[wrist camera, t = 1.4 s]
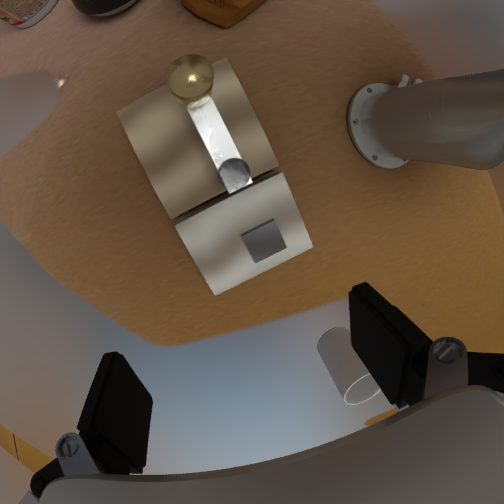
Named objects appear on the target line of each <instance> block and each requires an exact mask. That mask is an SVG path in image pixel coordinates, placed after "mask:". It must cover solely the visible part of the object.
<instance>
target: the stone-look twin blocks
mask: <svg viewBox="0 0 504 504" xmlns="http://www.w3.org/2000/svg"><path fill="white" fill-rule="evenodd" d="M211 64H212V66H213V69H214V80H213V90H212V95H211V98H212V100H213V102H214V104H215V106H216V108H217V110H218V112H219V114H220V116H221V118H222V120H223V122H224V124H225V126H226V128H227V130H228V132H229V134H230V136H231V138H232V140H233V142H234V144H235V146H236V148H237V151H238V153H239V155H240V157H241V159H242V160H243V161H245V162H246V163H247V164H248V166H249V168H250V178H251V179H252V178H254V177H256V176H258V175H260V174H262V173H265V172H267V171H269V170H271V169H273V168H276V167H278V166H279V163H278V161H277V159H276V157H275V154H274V152H273V150H272V148H271V146H270V144H269V141H268V139H267V137H266V135H265V133H264V131H263V129H262V127H261V124H260V122H259V120H258V118H257V116H256V114H255V112H254V110H253V108H252V106H251V104H250V102H249V100H248V98H247V96H246V94H245V92H244V90H243V88H242V86H241V84H240V82H239V80H238V78H237V76H236V75H235V73H234V71H233V69H232V67H231V65H230V63H229V61H228V60H227V58H224V59H222V60H219V61H216V62H214V63H211ZM116 113H117V115H118V117H119V119H120V121H121V124H122V126H123V128H124V130H125V132H126V134H127V136H128V138H129V140H130V142H131V144H132V146H133V148H134V150H135V152H136V155H137V157H138V159H139V161H140V162H141V164H142V166H143V168H144V170H145V172H146V174H147V176H148V178H149V180H150V182H151V184H152V186H153V188H154V190H155V192H156V193H157V195H158V197H159V199H160V201H161V203H162V205H163V206H164V208H165V210H166V212H167V214H168V216H169V217H170V219H173V218H175V217H177V216H179V215H180V214H182V213H184V212H186V211H188V210H190V209H192V208H194V207H195V206H197V205H199V204H201V203H203V202H205V201H207V200H209V199H211V198H213V197H215V196H217V195H219V194H221V193H223V192H225V191H227V188H226V187H224V186H223V185H222V184H221V183H220V181H219V179H218V177H217V168H216V166H215V164H214V162H213V160H212V158H211V156H210V154H209V152H208V150H207V148H206V146H205V144H204V142H203V140H202V138H201V136H200V134H199V132H198V130H197V128H196V126H195V124H194V122H193V120H192V118H191V116H190V114H189V112H188V110H187V108H186V107H183V106H181V105H180V104H179V103H177V101H176V100H175V98H174V96H173V94H172V92H171V91H170V89H169V87H168V85H167V84H165V85H163V86H161V87H159V88H157V89H155V90H153V91H152V92H150V93H148V94H146V95H144V96H143V97H141V98H139V99H137V100H136V101H134V102H132V103H130V104H129V105H127V106H126V107H124V108H122V109H121V110H119V111H117V112H116ZM252 182H253V183H250V184H248V185H246V186H244V187H242V188H240V189H238V190H236V191H234V192H232V193H230V194H229V192H227V193H225V194H223V195H221V196H219V197H217V198H215V199H213V200H212V201H210V202H208V203H206V204H204V205H202V206H200V207H198V208H196V209H194V210H192V211H190V212H188V213H187V214H185V215H183V216H181V217H179V218H178V219H177V221H176V223H175V228H176V230H177V232H178V234H179V235H180V237H181V239H182V241H183V242H184V244H185V246H186V248H187V249H188V251H189V253H190V255H191V256H192V258H193V260H194V261H195V263H196V265H197V266H198V268H199V270H200V272H201V273H202V275H203V277H204V278H205V280H206V282H207V283H208V285H209V286H210V288H211V290H212V291H213V293H214V295H215V296H216V295H218V294H220V293H222V292H224V291H226V290H228V289H230V288H232V287H234V286H236V285H238V284H240V283H242V282H244V281H247V280H249V279H251V278H253V277H255V276H257V275H259V274H261V273H263V272H265V271H267V270H269V269H271V268H273V267H275V266H277V265H279V264H281V263H283V262H285V261H287V260H289V259H291V258H293V257H295V256H297V255H298V254H300V253H302V252H304V251H306V250H308V249H310V248H312V247H313V245H312V243H311V240H310V238H309V235H308V232H307V230H306V227H305V225H304V222H303V220H302V217H301V215H300V213H299V210H298V208H297V205H296V203H295V200H294V198H293V196H292V193H291V191H290V189H289V186H288V184H287V182H286V179H285V177H284V175H283V172H278V171H272V172H269V173H267V174H265V175H263V176H261V177H259V178H256V179H254V180H252Z"/></svg>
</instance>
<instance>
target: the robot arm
mask: <svg viewBox="0 0 504 504" xmlns="http://www.w3.org/2000/svg"><path fill="white" fill-rule="evenodd" d="M408 82H409V77H408V76H407V75H406V74H401V75H400V78H399V82H398V84H396V85H392V86H390V85H388V84H383V83H372V84H369V85H366V86H364V87H362V88H360V89H359V90H358V91H357V92H356V93H355V94H354V96H353V97H352V99H351V101H350V104H349V108H348V117H347V121H348V129H349V132H350V136H351V139H352V141H353V143H354V145H355V147H356V148H357V150H358V151H359V153H360V154H361V155H362V156H363V157H364V158H365V159H366V160H367V161H369V162H370V163H372V164H374V165H376V166H378V167H382V168H389V169H392V168H398V167H400V166H403V165H404V164H406V163H407V162H408V161H409V160H416V161H424V162H432V163H439V164H446V165H453V166H459V167H464V168H471V169H476V170H489V169H493V168H495V167H497V166H499V165H500V164H501V163H502V162H503V161H504V69H499V70H495V71H489V72H482V73H476V74H471V75H463V76H456V77H450V78H444V79H438V80H433V81H428V82H423V81H422V80H421V79H419V78H413V80H412V83H411V85H409V86H407V85H408ZM353 121H354V123H353ZM372 157H373V158H372ZM349 310H350V331H351V345H352V347H353V349H354V351H355V352H356V354H357V355H358V357H359V358H360V360H361V361H362V362H363V364H364V365H365V367H366V368H367V370H368V371H369V373H370V374H371V375H372V377H373V378H374V380H375V381H376V383H377V384H378V386H379V387H380V389H381V390H382V392H383V393H384V395H385V396H386V398H387V399H388V401H389V402H390V403H391V404H392V405H393V404H396V406H397V407H398V408H399V409H401V408H403V407H405V406H406V405H409V407H408V408H406V409H404V410H402V411H400V412H398V413H396V414H394V415H392V416H390V417H388V418H386V419H384V420H382V421H379V422H377V423H375V424H373V425H371V426H368V427H366V428H364V429H362V430H359V431H357V432H354V433H352V434H350V435H347V436H345V437H342V438H339V439H337V440H334V441H331V442H329V443H326V444H323V445H320V446H317V447H314V448H311V449H308V450H305V451H302V452H298V453H295V454H291V455H288V456H284V457H280V458H276V459H273V460H269V461H264V462H260V463H255V464H250V465H245V466H240V467H234V468H228V469H221V470H215V471H206V472H197V473H186V474H169V475H130V473H135V474H142V473H143V467H145V465H146V458H147V447H148V438H149V429H150V420H151V413H152V405H153V400H152V397H151V395H150V393H149V392H148V391H147V389H146V388H145V387H144V385H143V384H142V383H141V381H140V380H139V378H138V377H137V375H136V374H135V372H134V371H133V370H132V368H131V367H130V365H129V363H128V362H127V360H126V359H125V358H124V356H123V355H122V354H119V353H118V352H110V353H105V354H104V355H103V357H102V359H101V362H100V364H99V367H98V369H97V372H96V375H95V377H94V380H93V382H92V385H91V388H90V390H89V393H88V396H87V399H86V401H85V404H84V407H83V410H82V413H81V416H80V419H79V422H78V425H77V429H78V430H79V431H80V432H79V435H78V434H77V433H73V432H71V433H67V434H65V435H63V436H62V437H61V438H60V439H59V440H58V442H57V444H56V449H55V451H56V456H57V458H55V459H54V460H53V461H51V462H50V463H49V464H47V465H46V466H45V467H43V468H42V469H41V470H39V471H38V472H36V473H35V474H34V475H33V477H32V479H31V483H30V487H31V491H32V492H30V491H28V492H27V493H26V494H25V496H24V497H23V499H22V500H21V501H20V503H19V504H504V354H499V353H479V352H467V349H466V346H465V345H464V343H463V342H462V341H460V340H459V339H457V338H454V337H441V338H439V339H437V340H435V341H434V342H433V341H432V340H431V339H430V338H429V337H428V336H427V335H426V334H425V333H424V332H423V331H422V330H421V329H419V328H418V327H417V326H416V325H415V324H414V323H413V322H412V321H411V320H410V319H409V318H408V317H407V316H406V315H405V314H404V313H402V312H401V311H400V310H399V309H398V308H397V307H396V306H394V305H391V304H390V303H389V302H388V301H387V300H386V299H385V298H384V297H383V296H382V295H380V294H379V293H378V292H377V291H376V290H375V289H374V288H373V287H372V286H370V285H369V284H368V283H367V282H363V283H361V284H358V285H355V286H353V287H352V291H349Z"/></svg>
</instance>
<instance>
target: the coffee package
mask: <svg viewBox="0 0 504 504" xmlns="http://www.w3.org/2000/svg"><path fill="white" fill-rule="evenodd" d="M264 1H266V0H182V3H183V5H184V6H185V7H187V8H188V9H190V10H191V11H192V12H193V13H195V14H196V15H198V16H200V17H202V18H204V19H206V20H208V21H210V22H212V23H214V24H217V25H219V26H222V27H224V28H227V27H230V26H232V25H234V24H235V23H237V22H238V21H239V20H241V19H242V18H243V17H245V16H246V15H247V14H249V13H250V12H251V11H253V10H254V9H255V8H257V7H258V6H259V5H260V4H262V3H263V2H264Z"/></svg>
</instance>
